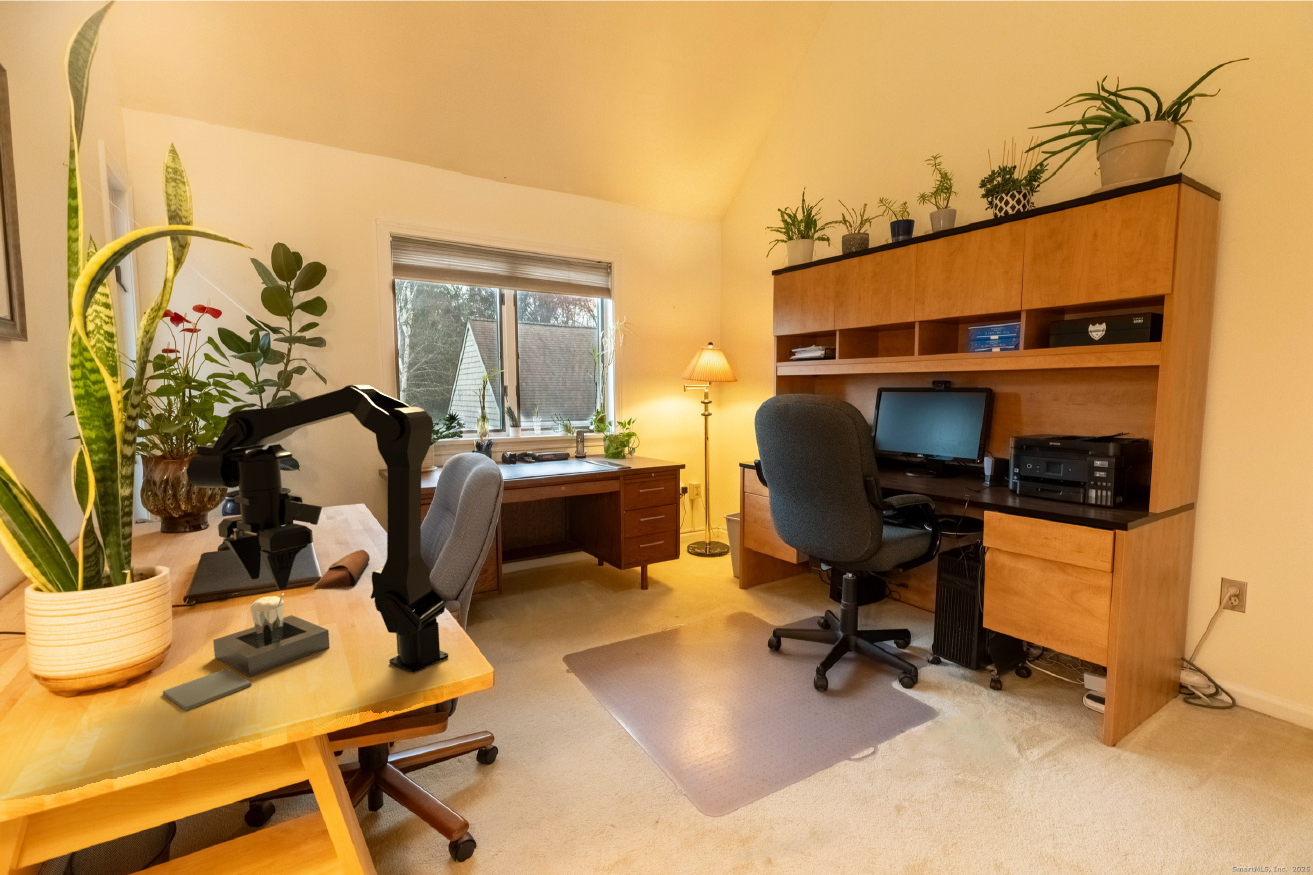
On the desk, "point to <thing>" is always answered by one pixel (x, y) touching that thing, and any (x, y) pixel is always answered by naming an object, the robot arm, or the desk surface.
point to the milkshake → (268, 620)
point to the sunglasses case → (344, 571)
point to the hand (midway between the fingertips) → (268, 583)
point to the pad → (206, 689)
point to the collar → (271, 647)
